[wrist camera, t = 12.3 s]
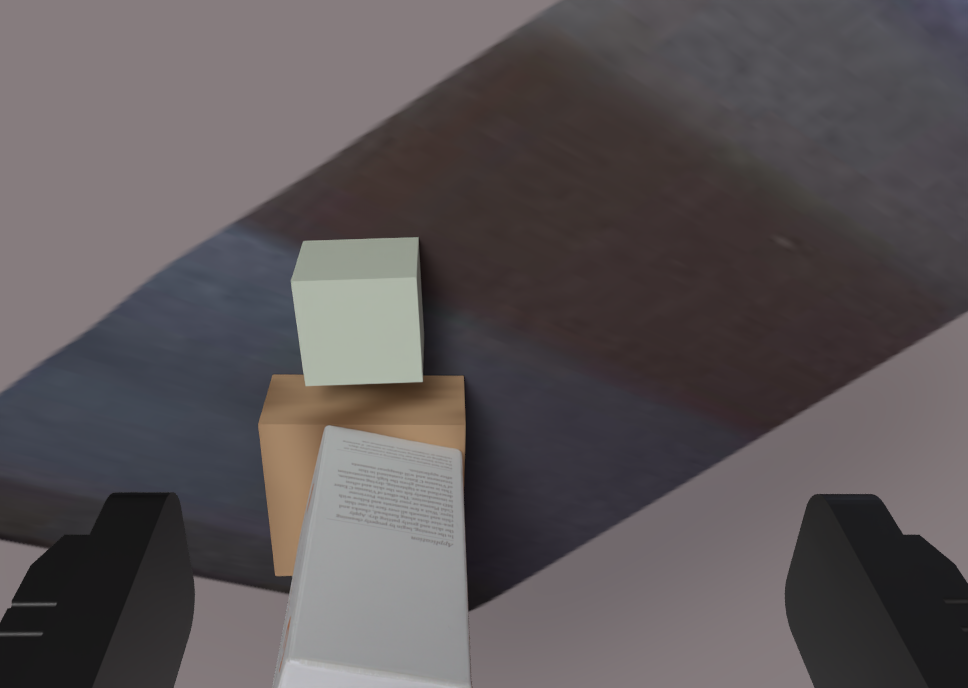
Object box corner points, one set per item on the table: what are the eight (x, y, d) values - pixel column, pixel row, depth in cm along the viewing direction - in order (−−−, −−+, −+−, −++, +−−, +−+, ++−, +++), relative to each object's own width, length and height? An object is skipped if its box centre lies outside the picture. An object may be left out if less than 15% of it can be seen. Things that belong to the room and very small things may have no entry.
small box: (424, 576, 45) (419, 834, 34) (295, 554, 44) (244, 813, 33) (466, 446, 41) (476, 690, 30) (325, 418, 40) (279, 661, 29)
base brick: (463, 375, 44) (465, 425, 41) (460, 519, 49) (461, 575, 45) (272, 374, 43) (258, 424, 40) (287, 520, 48) (275, 576, 45)
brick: (418, 236, 40) (416, 277, 37) (424, 334, 43) (422, 381, 40) (303, 239, 40) (290, 281, 37) (316, 338, 43) (305, 385, 39)
